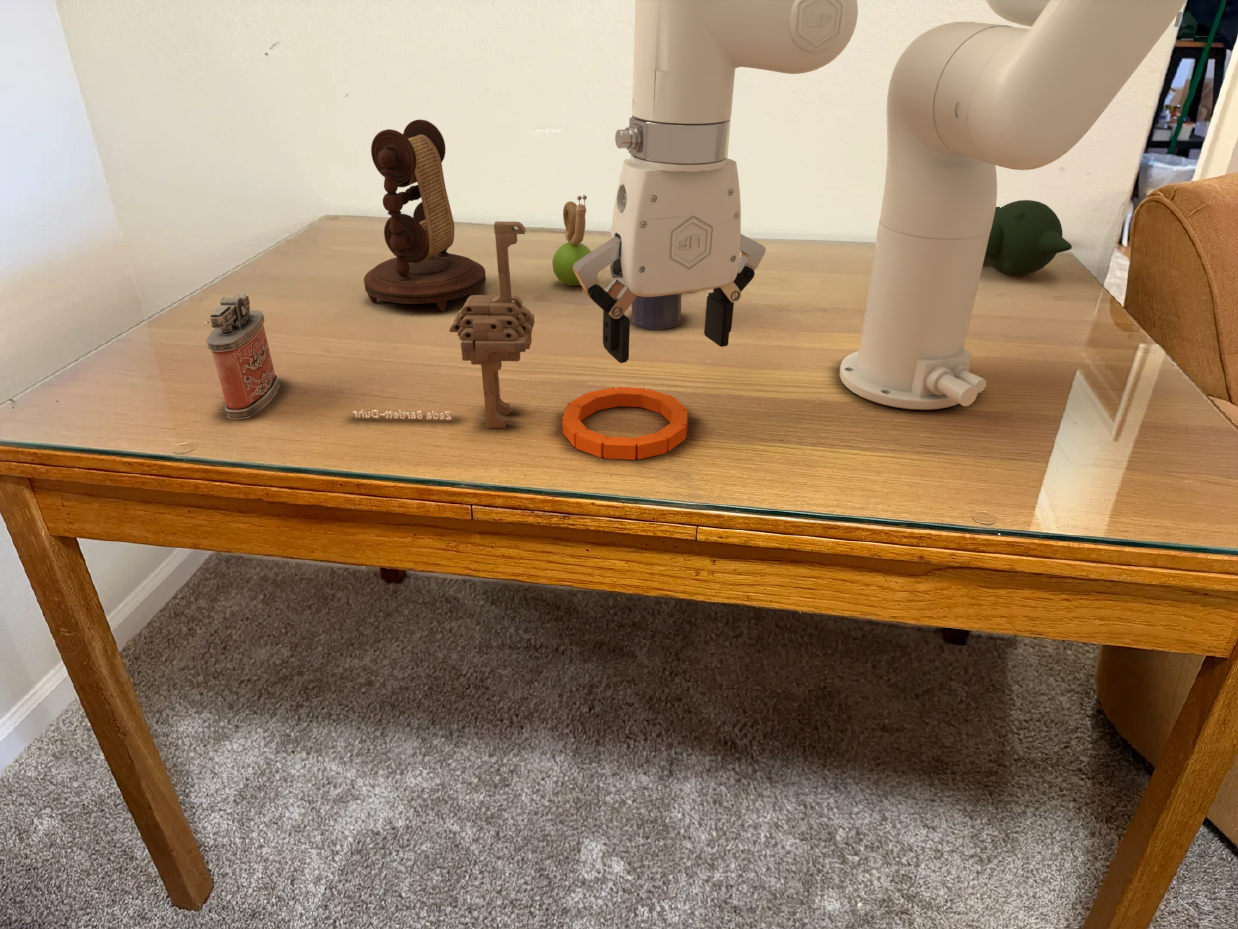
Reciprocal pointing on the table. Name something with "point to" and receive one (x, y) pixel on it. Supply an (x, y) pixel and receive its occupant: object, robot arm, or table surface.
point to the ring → (625, 445)
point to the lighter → (242, 357)
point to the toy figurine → (1024, 238)
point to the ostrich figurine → (490, 332)
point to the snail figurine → (571, 243)
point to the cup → (657, 311)
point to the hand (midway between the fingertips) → (667, 348)
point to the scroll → (418, 223)
